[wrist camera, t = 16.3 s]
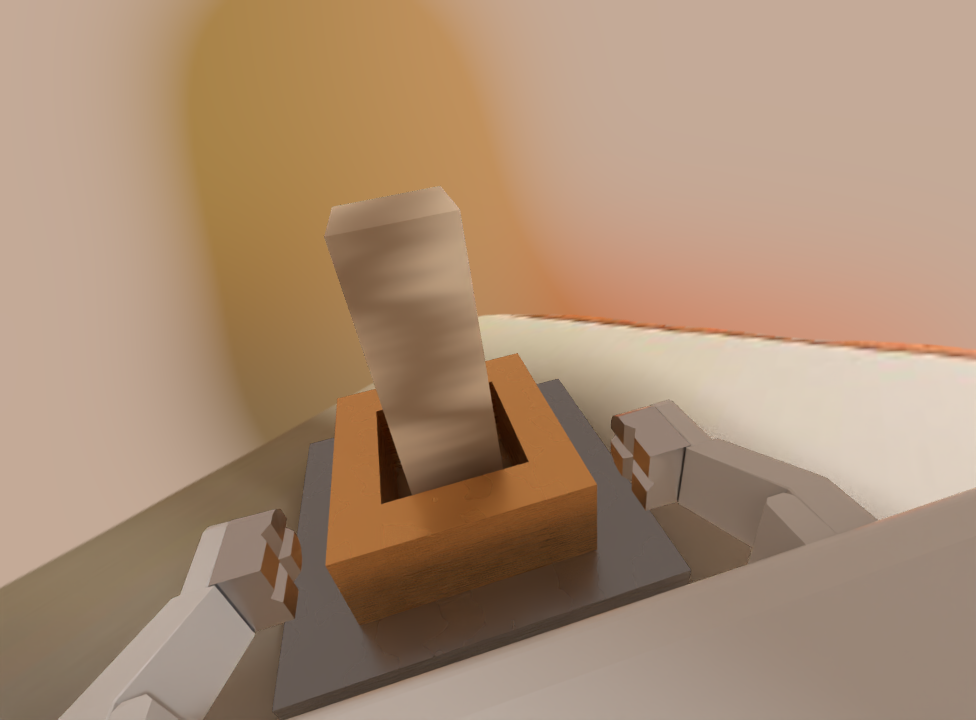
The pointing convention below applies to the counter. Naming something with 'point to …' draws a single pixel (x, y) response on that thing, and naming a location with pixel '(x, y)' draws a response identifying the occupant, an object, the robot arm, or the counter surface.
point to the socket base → (459, 546)
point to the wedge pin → (419, 331)
